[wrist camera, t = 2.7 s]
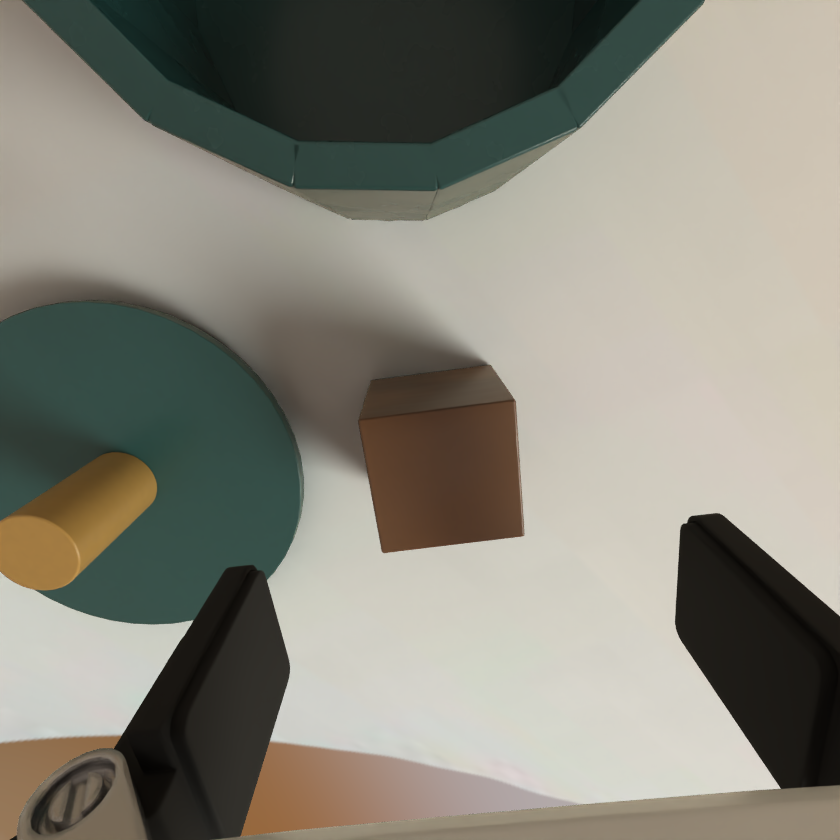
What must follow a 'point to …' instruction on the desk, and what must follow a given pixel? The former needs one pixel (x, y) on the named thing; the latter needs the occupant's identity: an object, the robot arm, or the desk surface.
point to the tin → (369, 85)
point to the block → (442, 458)
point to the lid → (136, 462)
